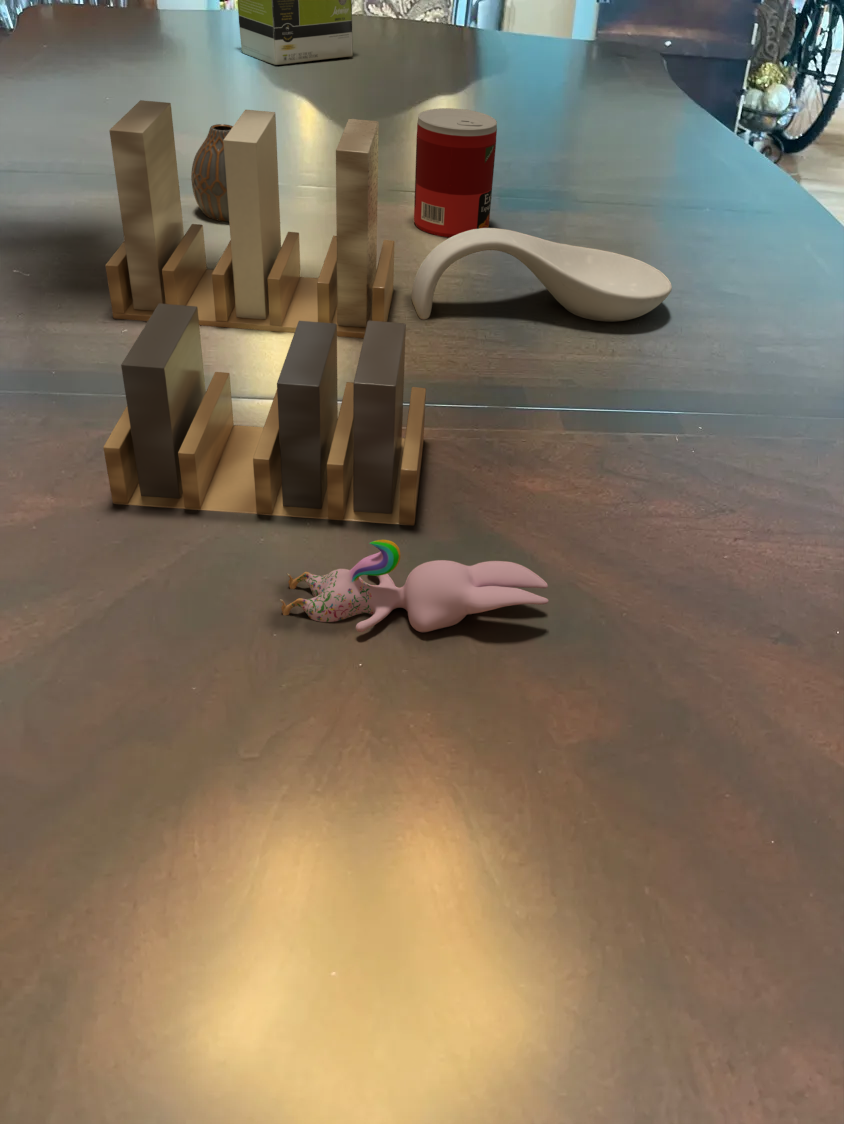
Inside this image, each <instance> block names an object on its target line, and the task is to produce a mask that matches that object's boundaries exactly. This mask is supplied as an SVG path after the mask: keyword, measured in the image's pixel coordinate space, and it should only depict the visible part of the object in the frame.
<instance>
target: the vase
mask: <svg viewBox="0 0 844 1124" xmlns="http://www.w3.org/2000/svg"><path fill="white" fill-rule="evenodd" d="M233 126H234V125H231V124H226V123H218V124H217V123H216V124H212V125H211V126H210V127H209V130H208V133H207V135H206V137H205V139H204V141H203V142H202V143H201V145H200V147H199V148H198V150H197V152H196V153H195V156H194V158H193V161H192V164H191V165H192V166H191V171H190V178H191V187H192V188H191V189H192V194H193V197H194V199H195V201H196V204H197V206H198V208H199V209H200V211H201V212H202V213H203V214H204V216H206V217H208V218H209V219H212V220H214V221H220V222H229V210H228V197H227V183H226V169H225V156H224V142H223V140H224V139H225V137H226V136H227V134H228V133H229V132H230V130H231V129H232V127H233Z"/></svg>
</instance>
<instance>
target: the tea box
mask: <svg viewBox="0 0 844 1124" xmlns="http://www.w3.org/2000/svg"><path fill="white" fill-rule="evenodd" d="M237 14H238V26H239V27H238V28H239V38H240V46H241V47H240V48H241V52H242V53H243V54H244V55H247V56H250V57H252V58H255V59H258V60H260V61H262V62H265V63H268V64H271V65H275V66H278V65H288V64H297V63H304V62H312V61H313V62H314V61H320V60H321V61H323V60H329V59H338V58H339V59H340V58H347V57H353V56H354V44H353V43H354V41H353V40H354V39H353V37H354V36H353V0H237Z"/></svg>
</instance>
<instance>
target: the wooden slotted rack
mask: <svg viewBox="0 0 844 1124" xmlns="http://www.w3.org/2000/svg"><path fill="white" fill-rule="evenodd" d="M173 121H174V120H173V112H172V103H171V102H165V101H155V100H141V99H140V100H139V101H138V102H137V103H136V104H135V105H133V107H131V109H129V110H128V111H127V112H126V113H125V114H124V115H123V116H122V117H121V118H120V119H119V120H118V121H117V122H116V123H115V124H114V125H113V126H112V127H110V129H109V130H108V131H109V138H110V146H111V154H112V159H113V166H114V167H113V168H114V175H115V182H116V189H117V197H118V204H119V210H120V218H121V226H122V232H123V233H122V234H123V237H124V238H123V241H122V243H121V244H120V246H119V247H118V248H117V250H115V252H114V253H113V255H112V256H111V257H110V258H109V260H108V261H107V263H106V264H105V265H104V266H105V272H106V279H107V284H108V293H109V298H110V305H111V312H112V318H113V319H115V320H117V319H118V320H129V321H138V322H139V321H142V322H148V320H149V319H150V317H151V316H152V314H153V312H154V311H155V309H156V307H157V306H158V304H159V303H160V304H172V305H185V306H197V307H198V317H199V326H202V327H203V326H204V327H214V328H215V327H216V328H229V329H241V330H252V331H253V330H255V331H267V332H276V333H277V332H278V333H279V332H280V333H291V334H294V333H295V330H296V327H297V324H298V322H299V321H310V322H322V323H335V324H337V337H341V338H354V339H364V335H365V331H366V326H367V322H368V321H382V322H388V320H389V313H390V310H391V309H390V308H391V305H392V299H393V293H394V282H395V281H394V279H395V275H394V274H395V243H396V242H395V240H392V239H391V240H390V239H383V241H382V245H381V249H380V254H379V257H378V261H377V256H378V255H377V254H378V252H377V251H378V195H379V194H378V192H379V191H378V190H379V186H378V185H379V135H380V134H379V130H380V129H379V126H380V125H379V124H380V123H379V121H378V120H369V119H366V120H365V119H356V118H348V119H347V122H346V124H345V126H344V129H343V132H342V135H341V137H340V139H339V141H338V144H337V146H336V149H335V202H336V203H335V206H336V207H335V209H336V212H335V213H336V217H335V218H336V235H332V237H331V240H330V243H329V246H328V249H327V252H326V256H325V258H324V261H323V265H322V267H321V270H320V273H319V276H318V277H306V276H301V249H300V248H301V247H300V232H296V231H287V233H286V235H285V238H284V240H283V241H282V243H281V249H280V251H279V254H278V256H277V258H276V260H275V263H274V265H273V267H272V269H271V272H270V274H269V276H268V298H269V313H268V316H267V318H266V320H264V319H251V318H239V317H236V306H235V292H234V279H233V265H232V251H231V239H230V240H229V242H228V243H227V246H226V247H225V249H224V251H223V252H222V254H221V256H220V259H219V260H218V262H217V264H215V267H214V269H212V268H211V269H210V268H207V254H206V245H205V233H204V226H203V224H197V223H192V224H191V225H190V226H189V228H188V229H187V230H186V232H185V231H184V221H183V220H184V219H183V211H182V210H183V209H182V200H181V192H180V190H181V189H180V181H179V171H178V160H177V152H176V140H175V130H174V122H173Z"/></svg>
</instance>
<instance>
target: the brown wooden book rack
mask: <svg viewBox="0 0 844 1124" xmlns="http://www.w3.org/2000/svg"><path fill="white" fill-rule="evenodd" d="M406 326H407V324H406V322H393V321H387V322H382V321H368V322H367V326H366V331H365V335H364V338H362V339H363V340H362V344H361V347H360V348H361V349H360V353H359V358H358V361H357V366H356V370H355V375H354V379H353V381H346V382H345V387H344V391H343V395H342V398H341V403H340V407H339V406H338V404H339V403H338V397H339V396H338V336H337V324H335V323H322V322H310V321H299V322H298V324H297V327H296V330H295V333H293V336H292V339H291V342H290V344H289V347H288V350H287V353H286V356H285V358H284V362H283V364H282V366H281V367H282V368H281V370H280V373H279V375H278V379H277V382H276V390H275V394H274V396H273V398H272V399H273V400H272V402H271V405H270V408H269V411H268V414H267V416H266V419H265V422H264V425H263V426H251V425H250V426H249V425H238V424H237V425H235V424H234V422H235V421H234V411H233V398H232V397H233V396H232V387H231V374H230V372H224V371H223V372H222V371H214V373H213V376H212V377H211V380H210V382H209V384H208V386H207V388H206V381H205V379H206V378H205V371H204V360H203V350H202V349H203V348H202V340H201V328H200V325H199V317H198V307H197V306H185V305H172V304H160V303H159V304H158V306H157V307H156V309H155V311H154V312H153V314H152V316H151V317H150V319H149V320H148V321H146V323H145V325H144V327H143V328H142V329H141V331H140V333H139V335H138V336H137V338H136V339H135V341H134V343H133V344H132V346H131V348H130V350H129V351H128V353H127V354H126V356H125V357H124V359H123V360H122V363H121V364H120V367H121V373H122V380H123V386H124V394H125V400H126V407H125V408H124V410H123V412H122V413H121V415H120V416H119V419H118V420H117V423H116V424H115V426H114V427H113V429H112V431H111V433H110V435H109V436H108V438H107V440H106V441H105V443H104V445H103V447H102V448H103V453H104V458H105V459H104V460H105V467H106V471H107V476H108V477H107V478H108V483H109V489H110V495H111V500H112V504H114V505H125V506H126V505H127V506H139V507H140V506H141V507H151V508H153V507H154V508H166V509H167V508H168V509H179V510H181V509H182V510H184V509H185V510H195V511H197V510H198V511H209V512H210V511H211V512H222V513H235V514H236V513H237V514H249V515H250V514H251V515H265V516H276V517H278V516H279V517H293V518H307V519H318V520H319V519H321V520H331V521H332V520H333V521H334V520H335V521H348V522H360V523H361V522H362V523H373V524H375V523H376V524H387V525H401V526H415V523H416V514H417V505H418V495H419V487H420V478H421V477H420V475H421V467H422V460H423V459H422V458H423V449H424V448H423V447H424V439H425V438H424V437H425V418H426V402H427V401H426V399H427V398H426V397H427V388H426V387H416V386H412V387H411V388H410V389H411V390H410V398H409V403H408V404H409V405H408V412H407V420H406V426H405V433H404V434H405V435H404V437H403V420H404V418H403V416H404V391H405V389H404V388H405V364H406V363H405V360H406V336H407V335H406V331H407V330H406V329H407V327H406ZM338 407H339V408H338ZM338 409H339V410H338Z"/></svg>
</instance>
